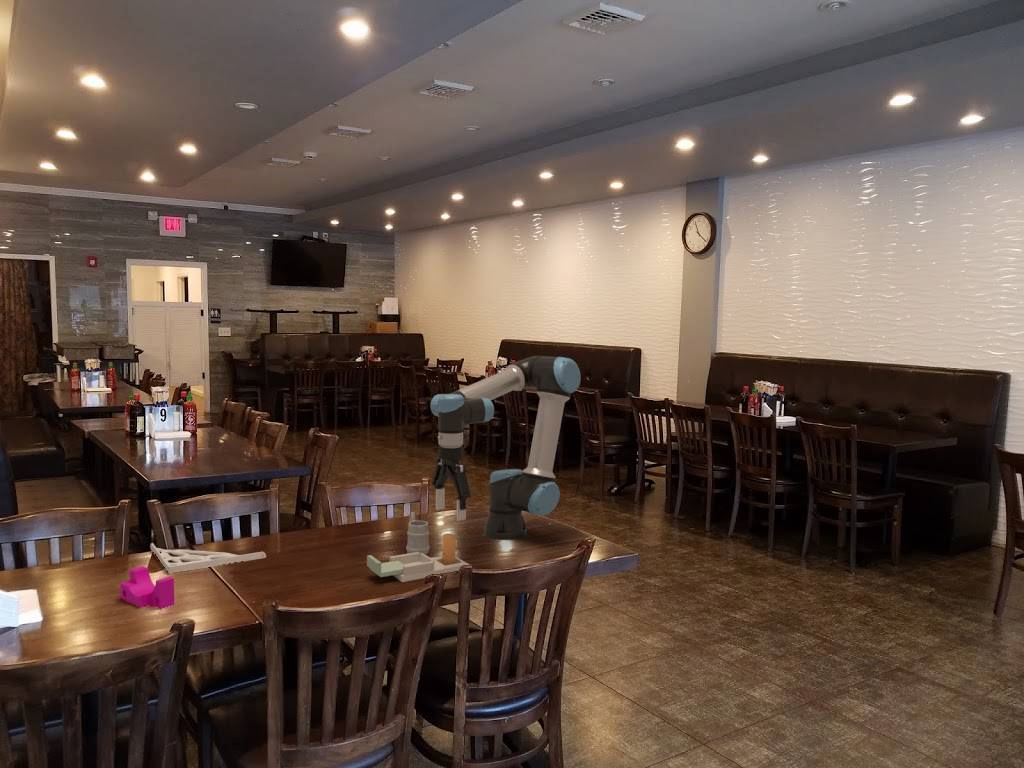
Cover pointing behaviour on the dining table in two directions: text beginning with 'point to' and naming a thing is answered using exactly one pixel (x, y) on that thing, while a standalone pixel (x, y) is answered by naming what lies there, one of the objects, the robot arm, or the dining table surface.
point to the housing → (423, 566)
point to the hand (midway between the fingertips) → (450, 514)
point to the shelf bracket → (199, 558)
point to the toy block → (147, 589)
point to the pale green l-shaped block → (384, 567)
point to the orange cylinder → (448, 549)
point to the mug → (417, 536)
